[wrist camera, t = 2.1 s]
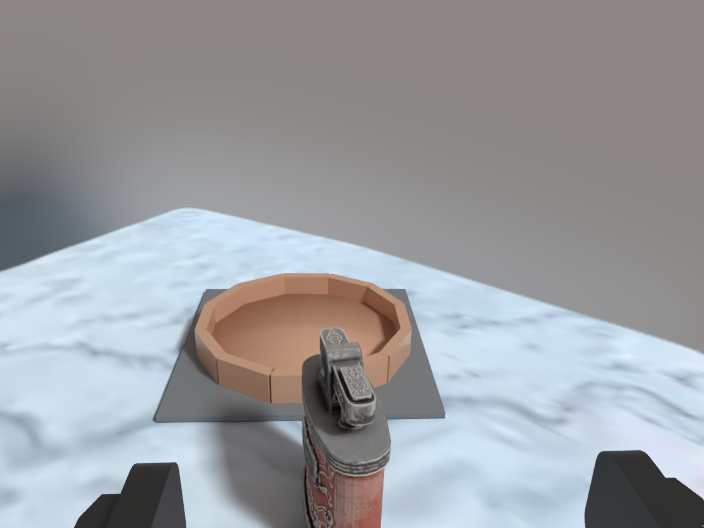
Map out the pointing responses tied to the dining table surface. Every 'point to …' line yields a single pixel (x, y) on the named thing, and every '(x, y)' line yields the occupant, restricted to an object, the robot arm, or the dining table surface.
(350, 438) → the lighter
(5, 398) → the dining table surface
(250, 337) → the dish
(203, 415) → the mat
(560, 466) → the dining table surface
